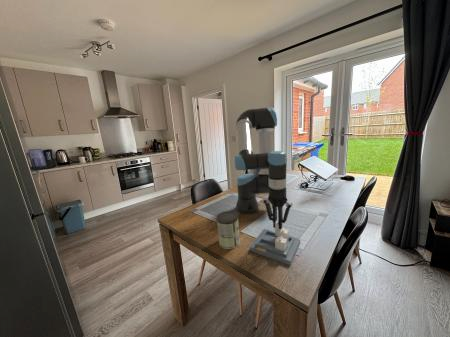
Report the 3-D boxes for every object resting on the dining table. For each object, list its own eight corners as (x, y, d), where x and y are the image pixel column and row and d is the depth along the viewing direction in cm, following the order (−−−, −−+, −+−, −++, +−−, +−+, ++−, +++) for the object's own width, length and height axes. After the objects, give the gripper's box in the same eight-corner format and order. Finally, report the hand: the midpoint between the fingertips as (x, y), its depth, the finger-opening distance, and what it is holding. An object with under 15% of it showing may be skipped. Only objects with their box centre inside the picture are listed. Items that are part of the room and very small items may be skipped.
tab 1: (278, 240, 84) (278, 229, 83) (280, 237, 86) (280, 226, 85) (287, 243, 82) (287, 232, 80) (289, 239, 84) (289, 228, 83)
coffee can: (218, 237, 94) (216, 212, 91) (238, 235, 94) (236, 210, 91) (218, 250, 84) (216, 223, 81) (241, 248, 84) (239, 221, 81)
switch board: (249, 250, 82) (249, 244, 81) (263, 232, 95) (263, 226, 94) (290, 265, 72) (290, 258, 71) (300, 242, 85) (300, 236, 84)
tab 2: (275, 250, 78) (275, 238, 77) (277, 246, 80) (277, 234, 79) (284, 253, 76) (284, 241, 74) (286, 249, 78) (286, 237, 77)
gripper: (259, 187, 80) (261, 234, 86) (290, 191, 73) (289, 243, 78) (266, 182, 86) (267, 226, 92) (295, 186, 79) (294, 234, 84)
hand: (277, 234), depth 85 cm, fingers closed
